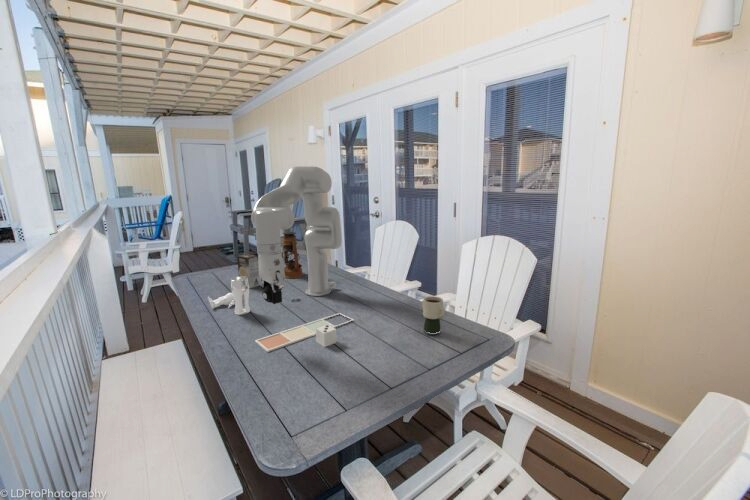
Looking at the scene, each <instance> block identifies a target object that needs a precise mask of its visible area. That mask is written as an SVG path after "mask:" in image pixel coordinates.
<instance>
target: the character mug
mask: <svg viewBox="0 0 750 500" xmlns="http://www.w3.org/2000/svg"><path fill="white" fill-rule="evenodd" d="M421 308H422V315H423V317H424V318H425V319H424V324H423V330H425V331H426V332H430V333H436V332H439V331H440V329H441V318H445V316H446V314H445V313H446V309H445V308H444V299H443V298H442V297H439V296H433V295H432V296H431V295H429V296H425V297H423V300H422V301H421Z"/></svg>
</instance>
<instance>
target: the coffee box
mask: <svg viewBox="0 0 750 500" xmlns="http://www.w3.org/2000/svg"><path fill="white" fill-rule="evenodd" d="M258 257H259V255H254V254H250V253H243V254H239V255H237V256H236V259H237V271H238V276H247V277H248V282H249V289H252V288H256V287H258V286H260V276H259V264H258Z"/></svg>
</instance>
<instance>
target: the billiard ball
mask: <svg viewBox="0 0 750 500" xmlns="http://www.w3.org/2000/svg"><path fill="white" fill-rule="evenodd" d="M277 285H278V284H275V287H276V286H277ZM272 292H273V290H272V286H271V285H268V286H266V287H265V288H264V290H263V289H262V298H263V300H265V301H266V302H267V303H272ZM272 304H273V303H272Z"/></svg>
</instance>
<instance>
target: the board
mask: <svg viewBox="0 0 750 500" xmlns="http://www.w3.org/2000/svg"><path fill="white" fill-rule="evenodd" d="M339 314H340V315H339ZM336 315H338V316H341V315H342V316H341V317H343V316H344V317H343V318H345V317H347V318H349V319H351V320H349V319H348V321H344V322H342V323H340V324H336V325H334V324H332V323H331V322H329V321H327V320H329V319H331V318H330V317H332V318H334V317H333V316H335V317H337V316H336ZM328 318H329V319H328ZM347 318H346V319H347ZM325 319H326V320H325ZM353 320H354V321H355V319H354V318H352V317H349V316H348V315H345V314H343V313H341V312H339V313H335V314H332V315H329V316H325V317H322V318H319V319H316V320H313V321H310V322H306V323H304V324H300V325H299V326H294V327H292V328H289V329H286V330H282V331H280V332H277V333H273V334H271V335H268V336H264V337H261V338H258V339H255V340H254V343H255V344H256V345H258V346H259V347H260V348H261V349H263V350H264V351H265V352H266V353H269V352H273V351H275V350H278V349H280V348H283V347H286V346H289V345H292V344H294V343H295V344H296V343H298V342H300V341H303V340H305V339H309V338H312V337H314V336H316V328H319V327H322V326H325V325H330V326H332V327H333V328H335V329H337V328H339V327H342V326H344V325H343V324H345V325H347V324H346V323H348V322H351V321H353ZM354 321H353V322H354ZM351 323H352V322H351ZM348 324H349V323H348ZM341 325H342V326H341ZM338 326H339V327H338ZM336 327H337V328H336Z"/></svg>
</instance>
